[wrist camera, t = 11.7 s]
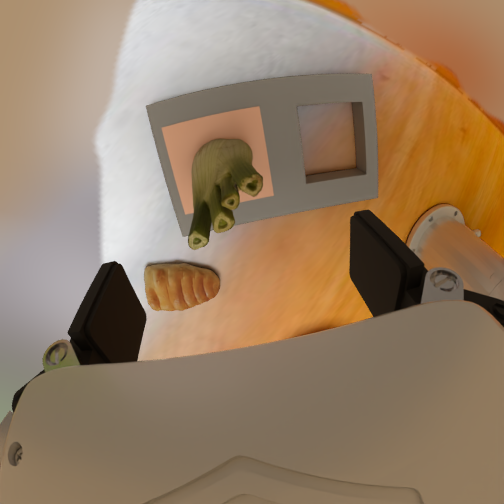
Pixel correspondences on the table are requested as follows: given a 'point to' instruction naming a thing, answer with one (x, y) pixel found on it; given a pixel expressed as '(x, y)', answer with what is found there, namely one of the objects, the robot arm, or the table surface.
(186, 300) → the pastry
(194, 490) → the robot arm
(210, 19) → the table surface
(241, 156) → the fennel bulb
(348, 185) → the holder board
